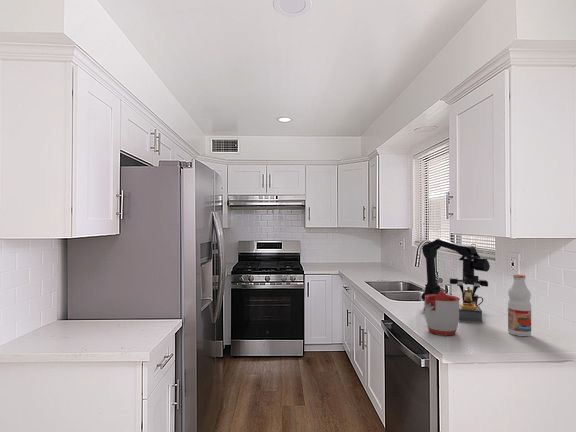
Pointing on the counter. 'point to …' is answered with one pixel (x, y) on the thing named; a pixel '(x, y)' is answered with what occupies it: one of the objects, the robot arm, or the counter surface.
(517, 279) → the fruit juice
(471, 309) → the grey square box
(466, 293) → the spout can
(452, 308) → the citrus juicer
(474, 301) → the coffee mug
